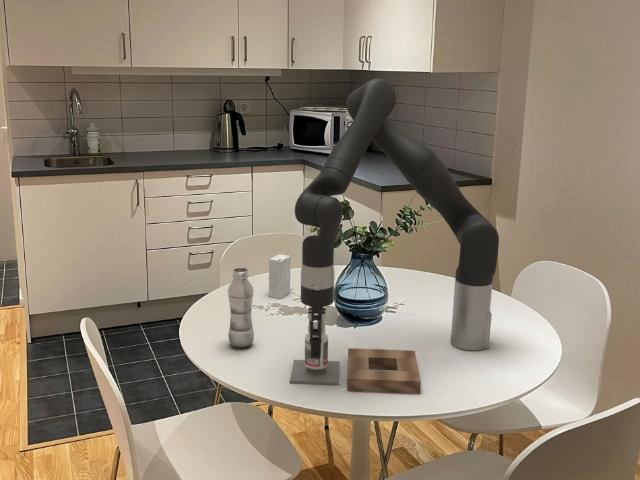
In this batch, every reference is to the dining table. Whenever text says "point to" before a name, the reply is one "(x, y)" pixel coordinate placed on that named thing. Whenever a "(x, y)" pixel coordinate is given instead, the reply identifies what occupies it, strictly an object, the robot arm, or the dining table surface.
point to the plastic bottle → (240, 309)
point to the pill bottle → (323, 360)
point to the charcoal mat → (315, 374)
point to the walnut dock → (383, 371)
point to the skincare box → (279, 276)
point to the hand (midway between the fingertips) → (316, 351)
